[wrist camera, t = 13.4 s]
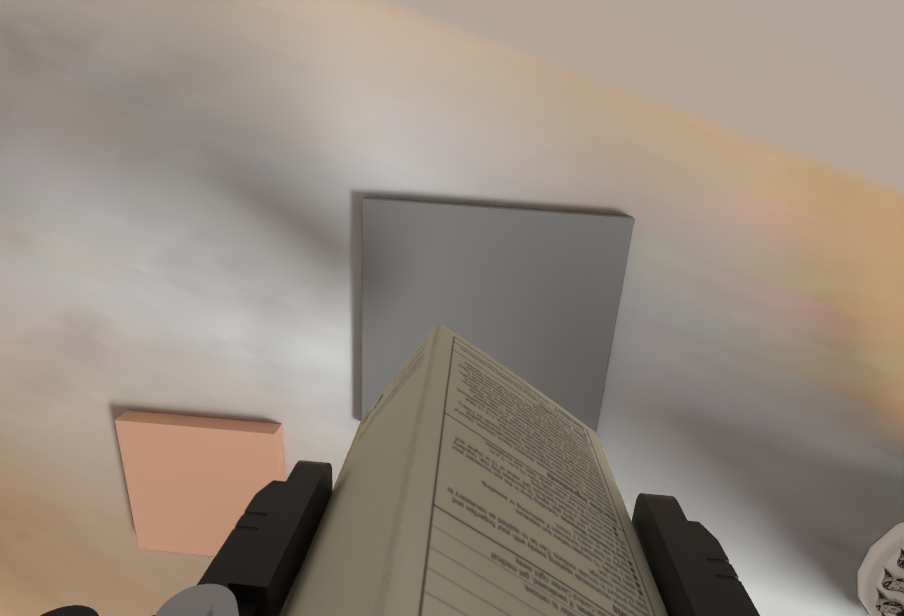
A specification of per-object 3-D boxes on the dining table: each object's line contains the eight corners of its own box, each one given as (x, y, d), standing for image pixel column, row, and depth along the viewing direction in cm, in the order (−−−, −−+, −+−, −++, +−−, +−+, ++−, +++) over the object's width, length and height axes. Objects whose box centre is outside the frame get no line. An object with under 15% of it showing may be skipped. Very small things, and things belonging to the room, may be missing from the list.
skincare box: (358, 419, 16) (6, 1184, 4) (442, 311, 14) (253, 1014, 3) (519, 524, 17) (579, 1394, 5) (612, 433, 15) (974, 1337, 4)
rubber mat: (630, 216, 21) (634, 218, 20) (590, 445, 25) (592, 452, 24) (365, 197, 21) (361, 198, 21) (364, 424, 25) (361, 430, 24)
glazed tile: (274, 434, 25) (114, 420, 25) (283, 563, 27) (138, 548, 28) (285, 418, 26) (133, 405, 26) (293, 543, 29) (155, 529, 29)
